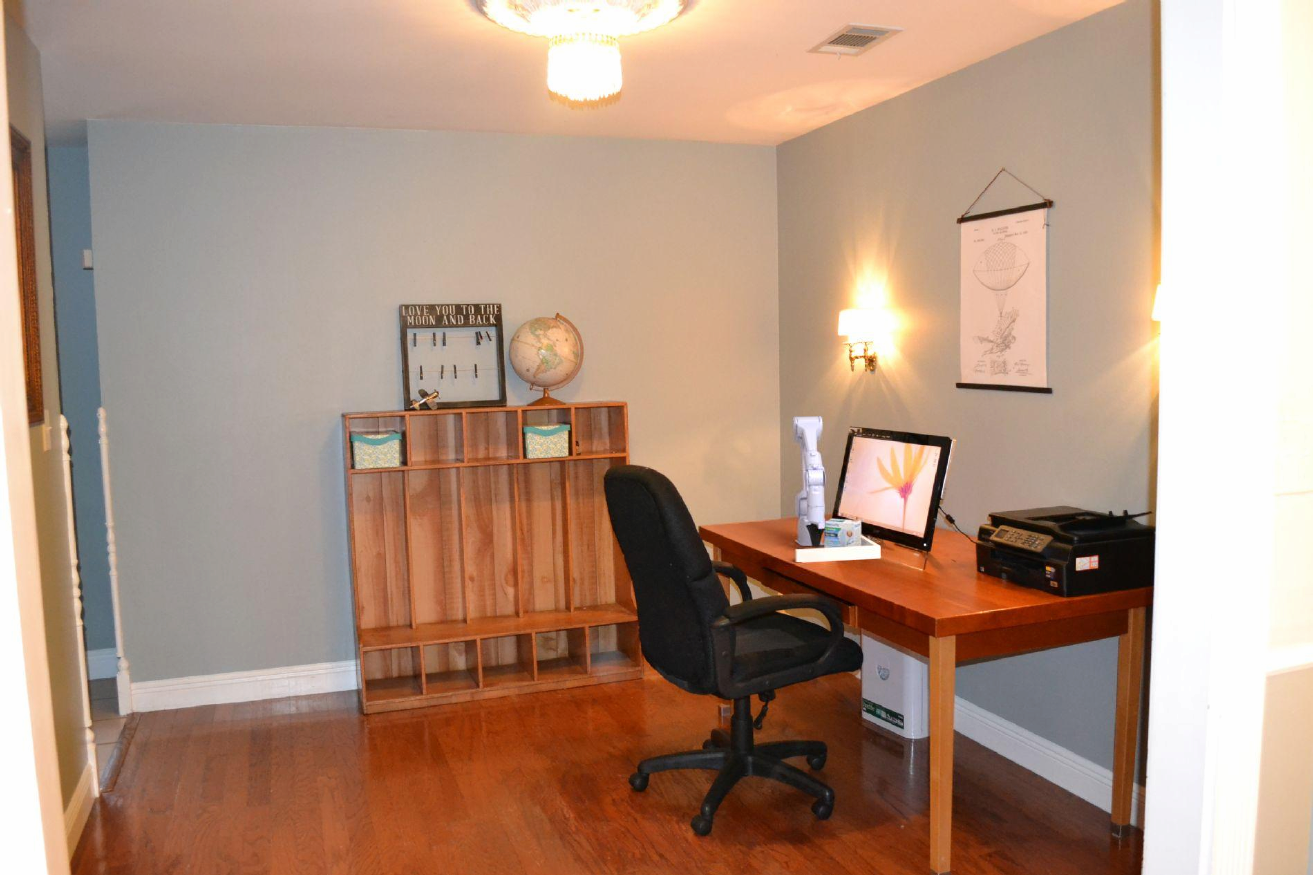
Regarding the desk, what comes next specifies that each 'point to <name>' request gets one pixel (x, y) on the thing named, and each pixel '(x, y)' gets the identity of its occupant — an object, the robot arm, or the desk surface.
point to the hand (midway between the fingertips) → (815, 546)
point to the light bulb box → (842, 533)
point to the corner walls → (840, 552)
